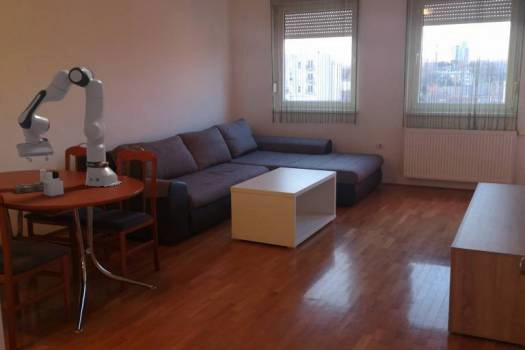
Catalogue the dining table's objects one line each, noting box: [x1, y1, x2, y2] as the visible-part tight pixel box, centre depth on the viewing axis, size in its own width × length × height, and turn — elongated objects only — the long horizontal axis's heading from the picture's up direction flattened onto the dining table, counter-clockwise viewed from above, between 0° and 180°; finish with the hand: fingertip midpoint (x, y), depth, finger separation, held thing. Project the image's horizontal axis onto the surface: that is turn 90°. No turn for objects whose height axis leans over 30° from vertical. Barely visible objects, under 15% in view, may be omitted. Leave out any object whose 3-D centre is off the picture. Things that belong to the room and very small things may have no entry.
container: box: [43, 170, 64, 197], centre depth 298 cm, size 8×8×13 cm
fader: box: [38, 168, 48, 184], centre depth 313 cm, size 4×5×8 cm
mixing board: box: [14, 182, 44, 194], centre depth 311 cm, size 20×11×3 cm, turn 126°
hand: (38, 160), depth 318 cm, fingers open, 8 cm apart
